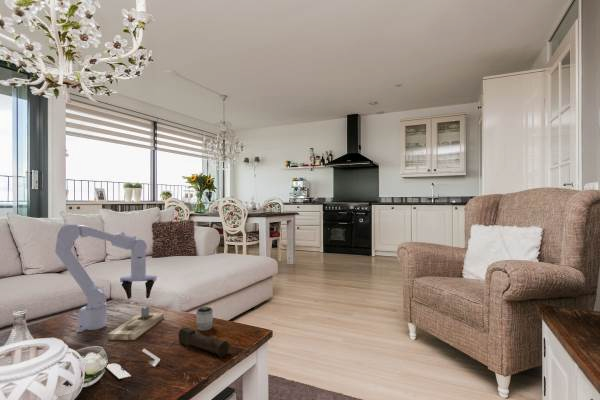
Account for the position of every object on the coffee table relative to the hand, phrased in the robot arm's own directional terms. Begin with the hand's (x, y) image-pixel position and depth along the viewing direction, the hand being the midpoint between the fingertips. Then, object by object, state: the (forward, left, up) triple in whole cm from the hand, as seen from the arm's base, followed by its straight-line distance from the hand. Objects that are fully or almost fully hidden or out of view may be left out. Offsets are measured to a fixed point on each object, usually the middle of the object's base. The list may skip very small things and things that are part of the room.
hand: (138, 297), depth 140 cm
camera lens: (+32, -8, -10) cm, 34 cm away
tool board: (+6, -11, -9) cm, 16 cm away
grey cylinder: (+6, -6, -8) cm, 12 cm away
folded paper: (+20, -38, -10) cm, 44 cm away
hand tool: (+37, -26, -10) cm, 46 cm away
